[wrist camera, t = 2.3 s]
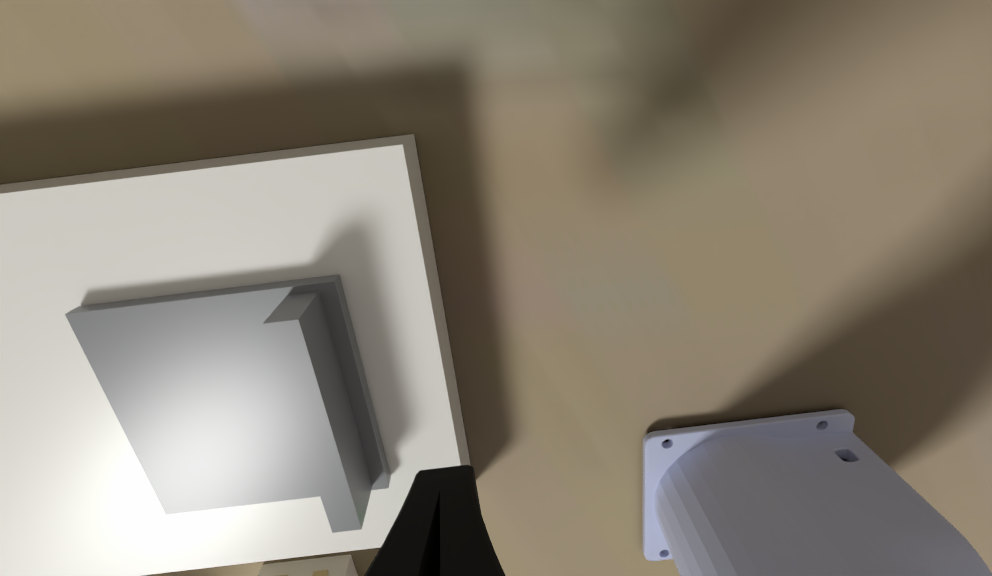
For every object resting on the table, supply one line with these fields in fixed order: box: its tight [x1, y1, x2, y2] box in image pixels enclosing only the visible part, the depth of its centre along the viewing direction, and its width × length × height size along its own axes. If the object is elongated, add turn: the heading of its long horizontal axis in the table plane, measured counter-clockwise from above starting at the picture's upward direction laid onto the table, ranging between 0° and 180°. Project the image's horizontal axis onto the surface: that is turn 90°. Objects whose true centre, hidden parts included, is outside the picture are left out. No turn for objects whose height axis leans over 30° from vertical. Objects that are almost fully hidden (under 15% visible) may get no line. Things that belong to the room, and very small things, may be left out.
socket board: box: [0, 134, 471, 576], centre depth 19 cm, size 21×16×3 cm
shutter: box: [65, 275, 391, 533], centre depth 16 cm, size 8×8×3 cm
